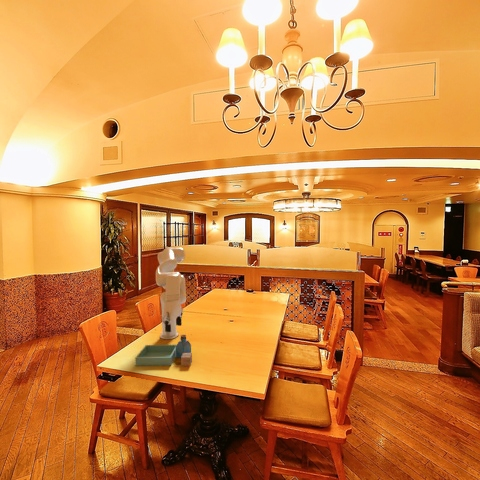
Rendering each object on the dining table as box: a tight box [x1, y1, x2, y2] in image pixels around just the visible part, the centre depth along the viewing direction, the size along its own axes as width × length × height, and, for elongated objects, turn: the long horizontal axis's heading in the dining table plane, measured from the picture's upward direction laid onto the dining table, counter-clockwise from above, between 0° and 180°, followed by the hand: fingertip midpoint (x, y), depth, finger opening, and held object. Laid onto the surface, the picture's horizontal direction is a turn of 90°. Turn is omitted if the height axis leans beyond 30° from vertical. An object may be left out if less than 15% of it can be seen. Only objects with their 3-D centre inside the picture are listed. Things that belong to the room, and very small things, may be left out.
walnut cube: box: [180, 352, 193, 367], centre depth 141 cm, size 5×5×5 cm
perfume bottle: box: [175, 334, 192, 359], centre depth 150 cm, size 6×6×12 cm
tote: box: [134, 344, 177, 367], centre depth 147 cm, size 16×20×4 cm
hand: (173, 328), depth 137 cm, fingers open, 9 cm apart
